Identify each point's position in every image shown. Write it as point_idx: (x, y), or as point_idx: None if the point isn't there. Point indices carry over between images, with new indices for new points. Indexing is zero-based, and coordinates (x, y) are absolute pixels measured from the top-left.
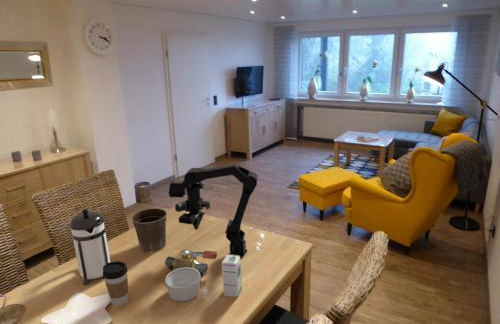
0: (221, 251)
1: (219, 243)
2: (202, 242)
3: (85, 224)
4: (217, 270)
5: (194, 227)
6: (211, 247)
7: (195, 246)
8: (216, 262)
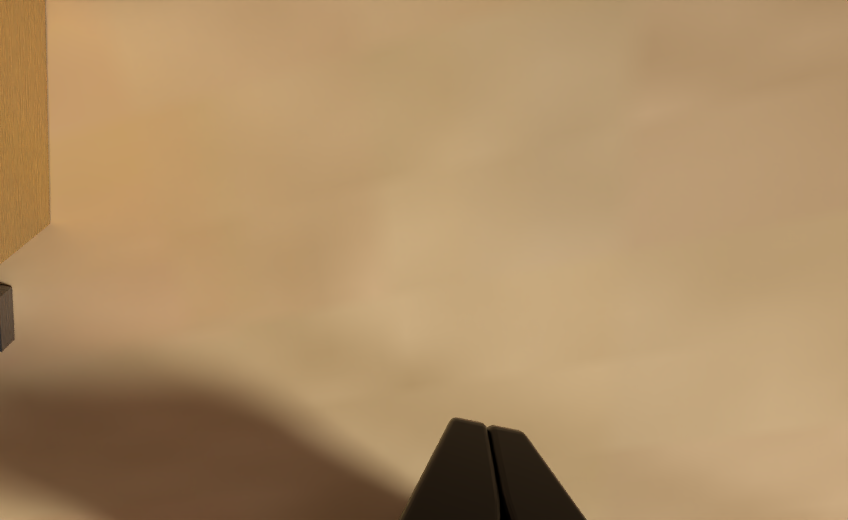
0: None
1: (736, 384)
2: (816, 125)
3: None
4: (83, 452)
5: (423, 479)
6: (625, 299)
7: (681, 28)
8: (242, 419)
